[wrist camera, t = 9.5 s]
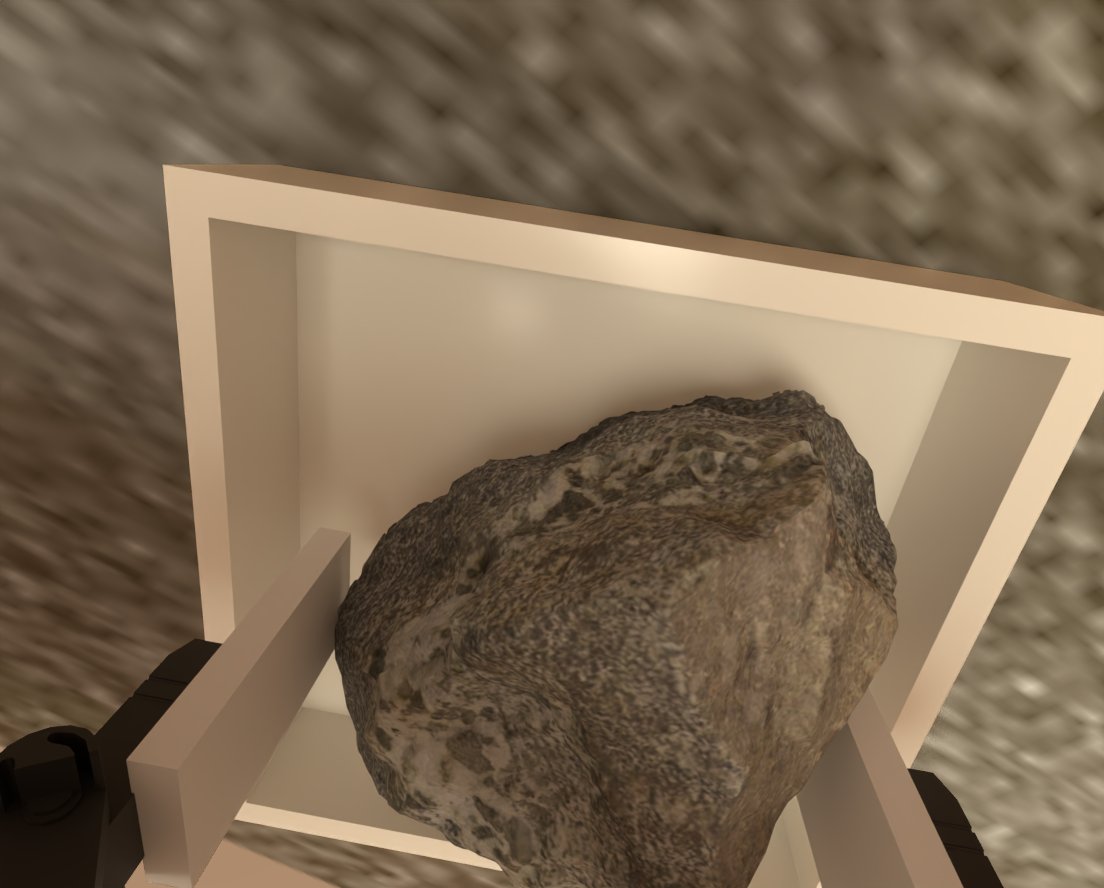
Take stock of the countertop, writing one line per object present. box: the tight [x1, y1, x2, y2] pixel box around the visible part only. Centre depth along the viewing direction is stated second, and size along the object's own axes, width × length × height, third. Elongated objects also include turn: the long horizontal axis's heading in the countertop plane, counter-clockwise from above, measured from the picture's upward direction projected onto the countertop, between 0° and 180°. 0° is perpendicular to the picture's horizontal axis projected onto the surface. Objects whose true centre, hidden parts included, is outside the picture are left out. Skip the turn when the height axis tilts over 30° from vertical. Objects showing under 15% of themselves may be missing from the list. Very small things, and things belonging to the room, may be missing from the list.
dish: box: [163, 165, 1104, 888], centre depth 17 cm, size 18×18×4 cm
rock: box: [334, 390, 898, 888], centre depth 13 cm, size 13×9×6 cm, turn 141°
